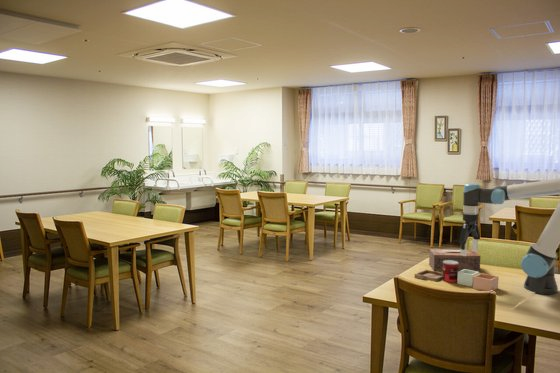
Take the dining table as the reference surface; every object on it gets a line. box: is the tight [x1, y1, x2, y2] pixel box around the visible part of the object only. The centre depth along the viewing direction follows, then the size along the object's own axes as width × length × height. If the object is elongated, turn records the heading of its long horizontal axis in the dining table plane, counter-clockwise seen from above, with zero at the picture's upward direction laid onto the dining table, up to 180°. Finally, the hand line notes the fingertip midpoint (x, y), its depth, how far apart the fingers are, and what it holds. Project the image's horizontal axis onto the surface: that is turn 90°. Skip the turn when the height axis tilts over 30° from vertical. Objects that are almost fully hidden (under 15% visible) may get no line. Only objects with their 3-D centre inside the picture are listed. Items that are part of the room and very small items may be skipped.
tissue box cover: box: [428, 248, 481, 273], centre depth 284 cm, size 26×14×10 cm, turn 83°
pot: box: [472, 272, 499, 292], centre depth 244 cm, size 9×9×7 cm
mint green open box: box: [456, 269, 480, 288], centre depth 253 cm, size 8×8×7 cm
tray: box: [414, 269, 443, 282], centre depth 266 cm, size 13×13×2 cm
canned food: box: [442, 260, 458, 284], centre depth 258 cm, size 8×8×11 cm
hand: (469, 253), depth 251 cm, fingers open, 13 cm apart
